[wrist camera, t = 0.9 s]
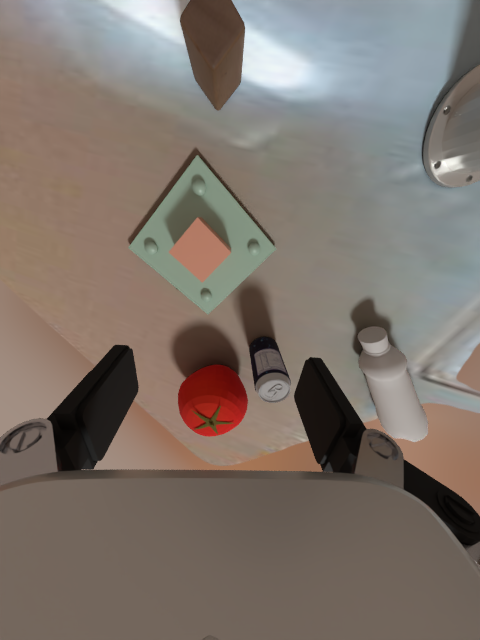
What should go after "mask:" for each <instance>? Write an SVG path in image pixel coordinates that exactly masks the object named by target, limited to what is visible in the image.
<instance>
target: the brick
mask: <svg viewBox="0 0 480 640" xmlns="http://www.w3.org/2000/svg"><path fill="white" fill-rule="evenodd" d="M169 253H170V254H171V255H172V256H173V257H174V258H175V259H177V260H178V261H179V262H180V263H181V264H182V265H183V266H184V267H185V268H187V269H188V270H189V271H190V272H191V273H192V274H193V275H194V276H195V277H197V278H198V279H199V280H200V281H201V282H202V283H203V282H204V281H205V280H206V279H207V277H208V276H209V275H210V274H211V273H212V272H213V271H214V270H215V269H216V268H217V267H218V266H219V265H220V264H221V263H222V262H223V261H224V260H225V259H226V258H227V257H228V256H229V255H230V254H231V248H230V247H229V246H228V245H227V244H226V243H225V241H224V240H223V239H222V238H221V237H220V236H219V235H218V234H217V233H216V232H215V231H214V230H213V229H212V228H211V227H210V226H209V225H208V224H207V223H206V221H205V220H204V219H203V218H202V217H197V218H196V220H195V221H194V222H193V223H192V224H191V226H190V227H189V228H188V229H187V230H186V232H185V233H184V234H183V235H182V236H181V238H180V239H179V240H178V241H177V242H176V244H175V245H174V246H173V247H172V248H171V250H170V251H169Z"/></svg>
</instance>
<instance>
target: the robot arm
mask: <svg viewBox="0 0 480 640" xmlns="http://www.w3.org/2000/svg"><path fill="white" fill-rule="evenodd" d="M423 159H424V166H425V169H426V172H427V174H428V176H429V177H430V179H431V180H432V181H433V182H435V183H436V184H437V185H440V186H442V187H448V188H453V187H462V186H467V185H470V184H472V183H475V182H477V181H479V180H480V65H478V66H476V67H475V68H473V69H472V70H470V71H469V72H468V73H466V74H465V75H464V76H463V77H462V78H461V79H460V80H458V81H457V82H456V83H455V84H454V85H453V87H452V88H451V89H450V90H449V91H448V93H447V94H446V95H445V96H444V98H443V100H442V101H441V103H440V104H439V106H438V107H437V109H436V111H435V113H434V115H433V117H432V119H431V121H430V124H429V127H428V130H427V133H426V137H425V142H424V149H423ZM137 392H138V380H137V374H136V368H135V362H134V356H133V350H132V349H130V348H129V346H127V345H114V346H113V347H112V349H111V350H110V351H109V352H108V353H107V354H106V355H105V356H104V357H103V359H102V360H101V361H100V362H99V363H98V364H97V365H96V366H95V367H94V368H93V370H92V371H90V372H89V373H88V374H87V375H86V376H85V377H84V378H83V380H82V381H81V382H80V383H79V384H78V385H77V386H76V387H75V388H74V389H73V391H72V392H71V393H70V394H69V395H68V396H67V397H66V398H65V399H64V400H63V402H62V403H61V404H60V405H59V406H58V407H57V408H56V409H55V410H54V411H53V413H52V414H51V415H50V416H49V417H48V418H47V419H43V418H39V419H32V420H29V421H26V422H23V423H21V424H19V425H17V426H15V427H14V428H12V429H10V430H9V431H7V432H6V433H5V434H4V435H3V436H1V437H0V640H480V516H479V515H478V514H477V513H476V511H475V510H474V509H473V508H472V506H470V504H468V503H467V502H466V501H465V500H464V499H463V498H462V497H460V496H459V495H458V494H456V493H455V492H454V491H452V490H450V489H449V488H447V487H446V486H444V485H443V484H441V483H440V482H438V481H436V480H435V479H433V478H432V477H430V476H429V475H427V474H426V473H424V472H423V471H421V470H419V469H418V468H416V467H415V466H413V465H412V464H410V463H409V462H407V461H406V460H404V459H403V453H402V451H401V449H400V447H399V446H398V445H397V444H396V442H395V441H394V440H393V439H391V438H390V437H389V436H388V435H386V434H385V433H383V432H381V431H378V430H375V429H366V428H365V426H364V424H363V422H362V421H361V419H360V418H359V416H358V415H357V413H356V412H355V410H354V408H353V407H352V405H351V404H350V402H349V401H348V399H347V398H346V396H345V394H344V393H343V391H342V390H341V388H340V387H339V385H338V384H337V382H336V381H335V379H334V377H333V376H332V374H331V373H330V371H329V370H328V368H327V367H326V365H325V363H324V362H323V360H322V359H321V358H312V357H310V358H309V359H308V360H306V361H305V364H304V367H303V370H302V373H301V376H300V379H299V382H298V385H297V388H296V391H295V394H294V399H295V402H296V405H297V408H298V411H299V414H300V417H301V419H302V422H303V425H304V428H305V431H306V434H307V436H308V439H309V442H310V445H311V448H312V450H313V453H314V456H315V459H316V461H317V463H318V464H320V465H321V468H322V470H323V472H305V471H242V470H81V469H94V467H95V465H96V463H97V461H100V460H102V459H103V457H104V455H105V453H106V452H107V450H108V447H109V445H110V444H111V442H112V440H113V438H114V436H115V434H116V433H117V431H118V429H119V427H120V425H121V423H122V421H123V419H124V417H125V415H126V414H127V412H128V410H129V408H130V406H131V404H132V402H133V400H134V398H135V397H136V395H137Z"/></svg>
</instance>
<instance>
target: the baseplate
mask: <svg viewBox="0 0 480 640" xmlns="http://www.w3.org/2000/svg"><path fill="white" fill-rule="evenodd" d="M197 217H202V218H203V219H204V220H205V221H206V223H207V224H208V225H209V226H210V227H211V228H212V229H213V230H214V231H215V232H216V233H217V234H218V235H219V236H220V237H221V238H222V239H223V240H224V241H225V243H226V244H227V245H228V246H229V247H230V248H231V254H230V255H229V256H228V257H227V258H226V259H225V260H224V261H223V262H222V263H221V264H220V265H219V266H218V267H217V268H216V269H215V270H214V271H213V272H212V273H211V274H210V275H209V276H208V277H207V279H206V280H205V281H204V282H203V283H202V282H201V281H200V280H199V279H198V278H197V277H195V276H194V275H193V274H192V273H191V272H190V271H189V270H188V269H187V268H185V267H184V266H183V265H182V264H181V263H180V262H179V261H178V260H177V259H175V258H174V257H173V256H172V255H171V254H170V253H169V251H170V250H171V248H172V247H173V246H174V245H175V244H176V242H177V241H178V240H179V239H180V238H181V236H182V235H183V234H184V233H185V232H186V230H187V229H188V228H189V227H190V226H191V224H192V223H193V222H194V221H195V220H196V218H197ZM128 248H129V249H130V250H132V251H133V252H134V253H135V254H136V255H138V256H139V257H140V258H141V259H142V260H144V261H145V262H146V263H147V264H148V265H149V266H151V267H152V268H153V269H154V270H155V271H157V272H158V273H159V274H160V275H161V276H163V277H164V278H165V279H166V280H167V281H169V282H170V283H171V284H172V285H173V286H175V287H176V288H177V289H178V290H179V291H181V292H182V293H183V294H184V295H185V296H187V297H188V298H189V299H190V300H191V301H192V302H194V303H195V304H196V305H197V306H198V307H200V308H201V309H202V310H203V311H204V312H206V313H207V314H209V313H210V312H211V311H212V310H213V309H214V308H215V307H216V306H217V305H218V304H220V303H221V302H222V301H223V300H224V299H225V298H226V297H227V296H228V295H229V294H230V293H231V292H232V291H233V290H234V289H235V288H236V287H237V286H238V285H239V284H240V283H241V282H242V281H243V280H245V279H246V278H247V277H248V276H249V275H250V274H251V273H252V272H253V271H254V270H255V269H256V268H257V267H258V266H259V265H260V264H261V263H262V262H263V261H264V260H265V259H266V258H267V257H268V256H270V255H271V254H272V253H273V252H274V251H275V250H276V248H275V247H274V245H273V244H272V243H271V242H270V241H269V240H268V238H267V237H266V236H265V235H264V234H263V232H262V231H261V230H260V229H259V228H258V226H257V225H256V224H255V223H254V222H253V220H252V219H251V218H250V217H249V216H248V215H247V213H246V212H245V211H244V210H243V209H242V207H241V206H240V205H239V204H238V203H237V201H236V200H235V199H234V198H233V197H232V195H231V194H230V193H229V192H228V191H227V190H226V188H225V187H224V186H223V185H222V184H221V182H220V181H219V180H218V179H217V178H216V176H215V175H214V174H213V173H212V172H211V171H210V169H209V168H208V167H207V166H206V165H205V163H204V162H203V161H202V160H201V159H200V157H199V156H198V155H197V156H196V157H195V159H194V160H193V161H192V163H191V164H190V165H189V167H188V168H187V169H186V171H185V172H184V173H183V175H182V176H181V177H180V179H179V180H178V181H177V183H176V184H175V185H174V187H173V188H172V189H171V191H170V192H169V194H168V195H167V196H166V198H165V199H164V200H163V202H162V203H161V204H160V206H159V207H158V208H157V210H156V211H155V212H154V214H153V215H152V216H151V218H150V219H149V220H148V222H147V223H146V224H145V226H144V227H143V228H142V230H141V231H140V232H139V234H138V235H137V237H136V238H135V239H134V241H133V242H132V243H131V245H130V246H129V247H128Z"/></svg>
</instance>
